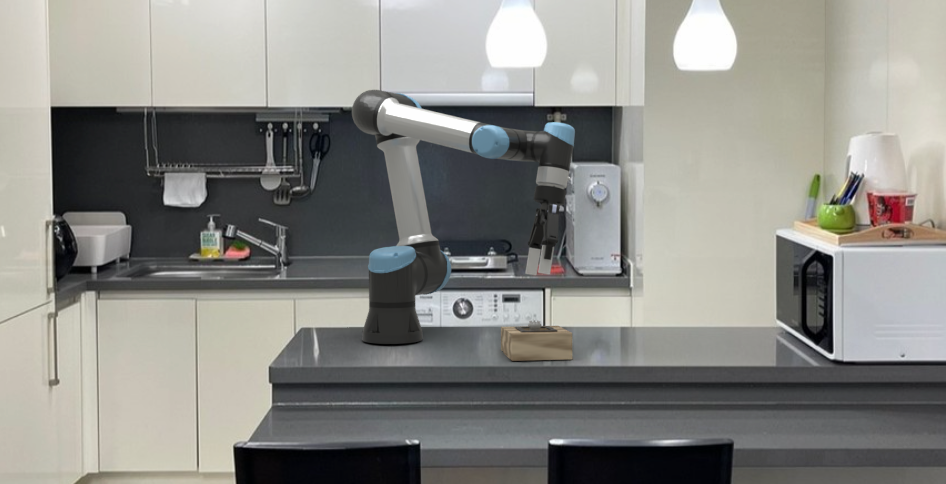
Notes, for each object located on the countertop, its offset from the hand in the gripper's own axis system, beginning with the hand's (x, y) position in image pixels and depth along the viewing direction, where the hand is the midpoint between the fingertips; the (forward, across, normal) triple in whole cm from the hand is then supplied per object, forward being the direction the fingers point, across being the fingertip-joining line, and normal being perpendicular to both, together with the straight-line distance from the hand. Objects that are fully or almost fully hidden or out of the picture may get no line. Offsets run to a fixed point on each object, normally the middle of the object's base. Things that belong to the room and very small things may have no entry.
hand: (537, 274), depth 230 cm
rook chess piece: (+19, -4, -2) cm, 20 cm away
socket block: (+19, -4, -2) cm, 20 cm away
